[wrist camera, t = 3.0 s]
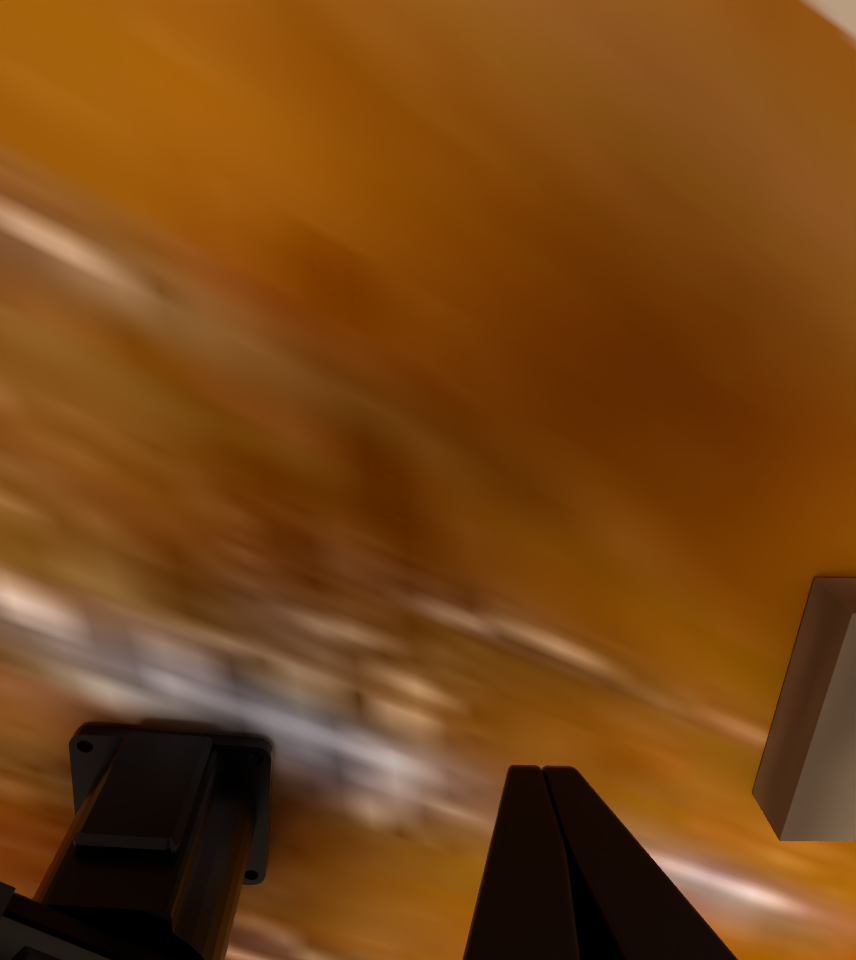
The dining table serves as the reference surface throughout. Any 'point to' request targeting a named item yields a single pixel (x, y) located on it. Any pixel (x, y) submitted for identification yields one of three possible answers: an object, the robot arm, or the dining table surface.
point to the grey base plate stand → (815, 725)
